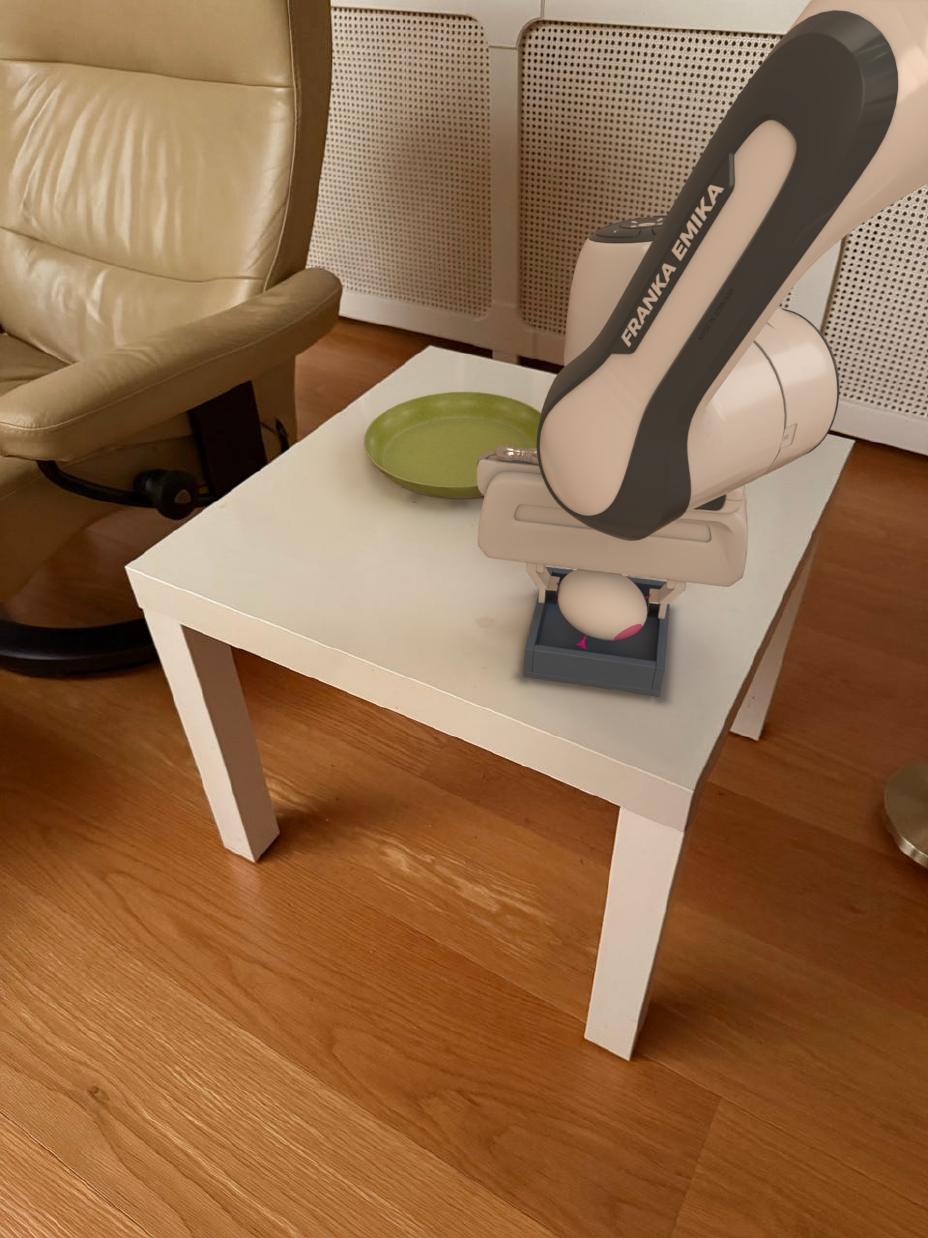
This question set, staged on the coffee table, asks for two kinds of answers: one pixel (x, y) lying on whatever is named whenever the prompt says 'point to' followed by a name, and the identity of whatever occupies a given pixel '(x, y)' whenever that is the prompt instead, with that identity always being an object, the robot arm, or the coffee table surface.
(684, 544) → the robot arm
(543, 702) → the coffee table surface
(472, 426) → the saucer
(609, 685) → the slate tray
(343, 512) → the coffee table surface
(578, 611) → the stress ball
